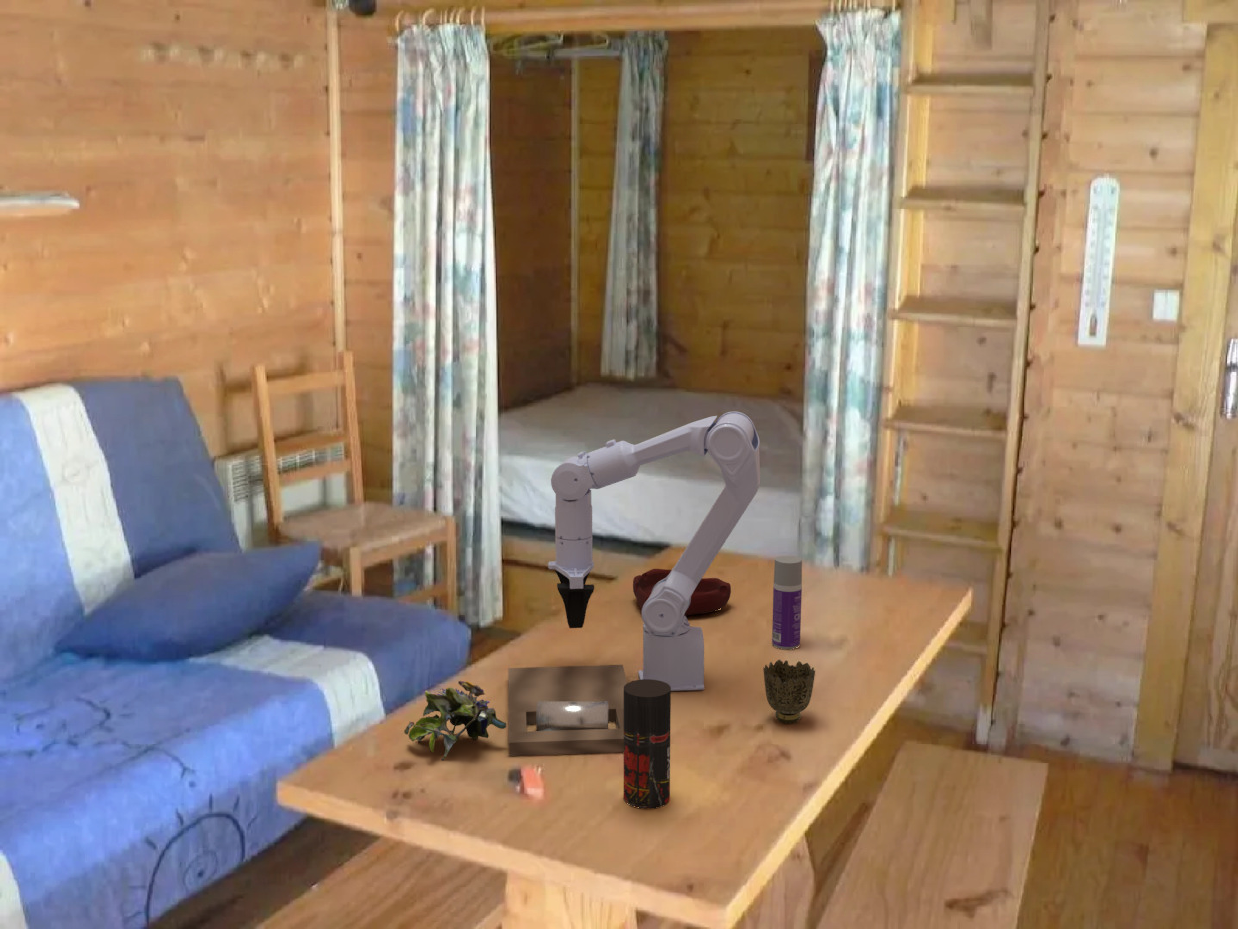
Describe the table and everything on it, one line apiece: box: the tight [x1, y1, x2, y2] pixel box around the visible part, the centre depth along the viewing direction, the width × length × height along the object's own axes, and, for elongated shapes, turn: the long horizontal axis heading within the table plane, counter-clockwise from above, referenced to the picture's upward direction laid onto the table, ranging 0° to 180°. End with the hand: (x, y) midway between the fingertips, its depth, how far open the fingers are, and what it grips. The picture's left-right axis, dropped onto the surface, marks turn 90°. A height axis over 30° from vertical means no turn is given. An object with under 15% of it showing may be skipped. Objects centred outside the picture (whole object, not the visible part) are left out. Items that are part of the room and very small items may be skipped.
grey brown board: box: [507, 664, 628, 757], centre depth 202 cm, size 18×28×2 cm, turn 5°
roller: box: [535, 701, 609, 731], centre depth 194 cm, size 10×5×5 cm, turn 89°
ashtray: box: [632, 568, 732, 617], centre depth 248 cm, size 18×16×5 cm
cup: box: [762, 659, 816, 725], centre depth 198 cm, size 8×7×8 cm
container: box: [771, 555, 803, 650], centre depth 228 cm, size 5×5×15 cm
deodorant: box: [623, 679, 672, 809], centre depth 174 cm, size 6×6×15 cm
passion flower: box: [403, 680, 507, 761], centre depth 189 cm, size 11×11×12 cm
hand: (574, 619), depth 214 cm, fingers open, 7 cm apart
